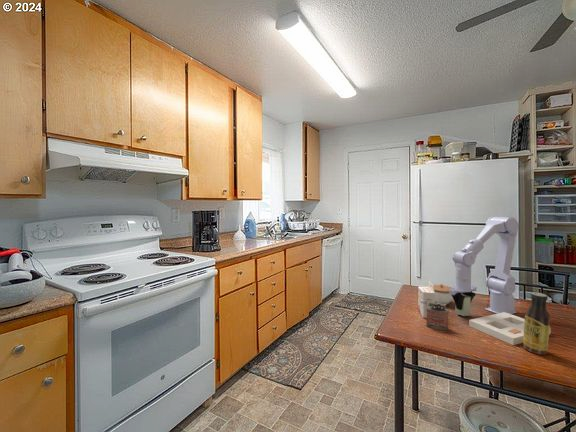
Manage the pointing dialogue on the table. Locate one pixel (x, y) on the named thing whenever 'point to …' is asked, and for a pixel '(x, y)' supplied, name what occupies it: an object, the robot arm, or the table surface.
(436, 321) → the lighter
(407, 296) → the table surface
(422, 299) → the ink cartridge box
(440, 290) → the lidded jar
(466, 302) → the peg
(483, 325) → the slot board
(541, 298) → the sauce bottle
